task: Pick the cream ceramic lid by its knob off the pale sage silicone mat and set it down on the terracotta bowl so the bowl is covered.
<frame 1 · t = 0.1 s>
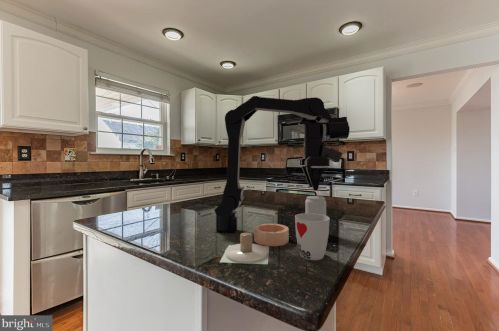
hand: (313, 188, 77), 15 cm above the countertop, fingers open, 9 cm apart
beverage can: (315, 234, 77), on the countertop
bowl: (271, 241, 70), on the countertop
cup: (311, 258, 59), on the countertop
lid: (246, 253, 60), point 1 cm above the countertop, touching mat
mat: (246, 256, 60), on the countertop
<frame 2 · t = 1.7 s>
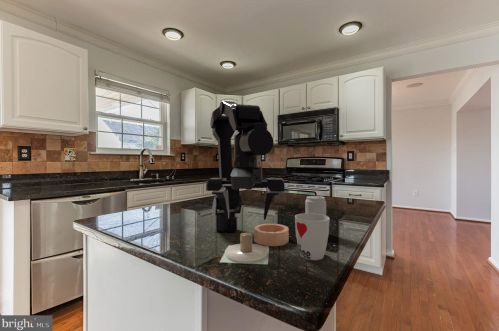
hand: (246, 219, 60), 9 cm above the countertop, fingers open, 9 cm apart
nothing on the countertop moved.
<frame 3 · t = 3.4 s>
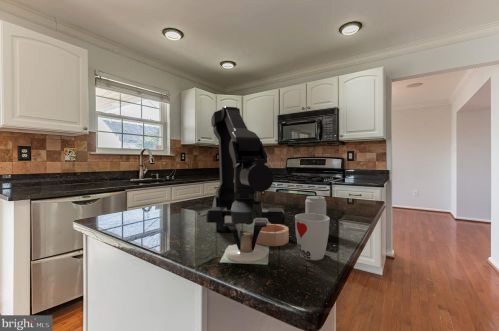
hand: (246, 249, 60), 2 cm above the countertop, fingers closed on lid, 3 cm apart
lid: (246, 253, 60), point 1 cm above the countertop, touching gripper, mat
everything else where it was.
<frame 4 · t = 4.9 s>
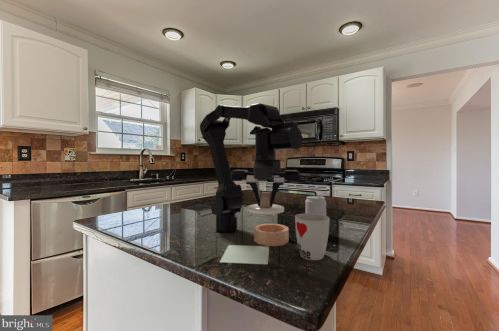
hand: (265, 206, 67), 11 cm above the countertop, fingers closed on lid, 3 cm apart
lid: (265, 210, 67), point 10 cm above the countertop, touching gripper
everything else where it was.
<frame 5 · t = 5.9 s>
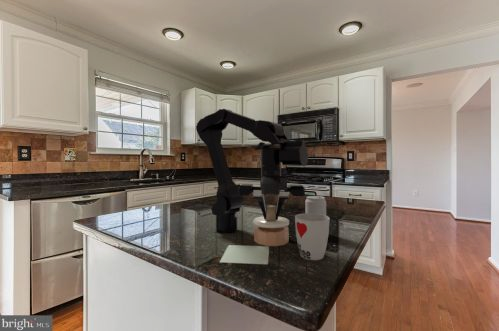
hand: (271, 219, 70), 7 cm above the countertop, fingers closed on lid, 3 cm apart
lid: (271, 222, 70), point 6 cm above the countertop, touching gripper
everything else where it was.
when the fingers open (6 cm above the countertop, at t = 6.6 s): lid stays where it is, resting on bowl.
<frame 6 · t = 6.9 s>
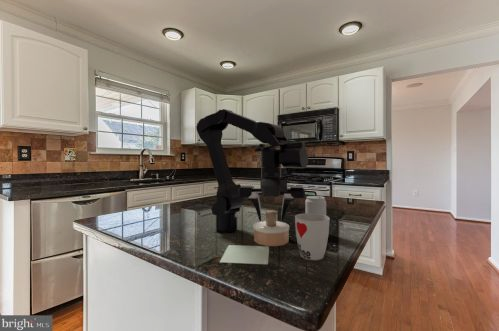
hand: (271, 221, 70), 6 cm above the countertop, fingers open, 6 cm apart
lid: (271, 228, 70), point 4 cm above the countertop, touching bowl
everything else where it was.
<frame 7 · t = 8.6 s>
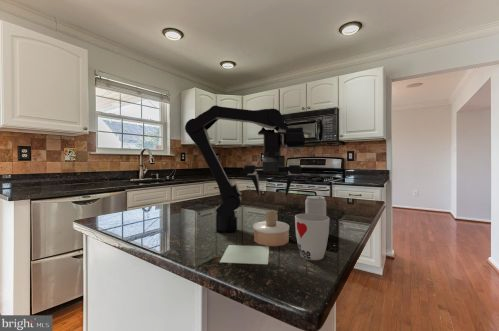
hand: (272, 195, 80), 12 cm above the countertop, fingers open, 9 cm apart
nothing on the countertop moved.
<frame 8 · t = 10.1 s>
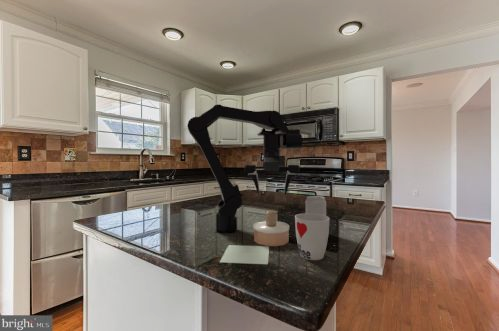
hand: (271, 194, 83), 12 cm above the countertop, fingers open, 9 cm apart
nothing on the countertop moved.
at the end: lid 0.0 cm off-centre on the bowl, point 4.0 cm above the bowl's base; lid tilted 0°; the gripper is holding nothing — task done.
